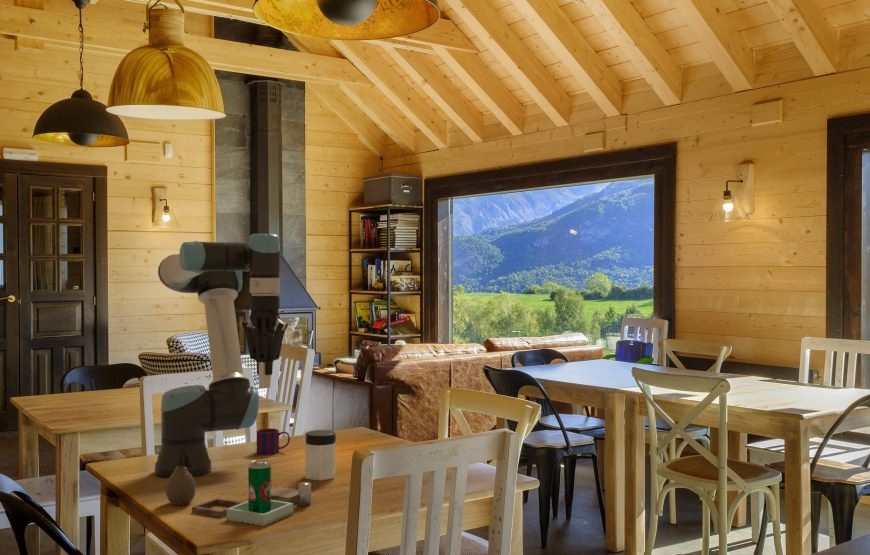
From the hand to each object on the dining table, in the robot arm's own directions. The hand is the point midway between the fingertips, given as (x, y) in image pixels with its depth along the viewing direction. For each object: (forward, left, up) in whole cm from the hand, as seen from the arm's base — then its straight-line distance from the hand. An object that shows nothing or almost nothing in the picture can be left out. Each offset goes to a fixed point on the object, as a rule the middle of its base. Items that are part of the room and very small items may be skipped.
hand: (264, 387), depth 215 cm
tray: (+13, -18, -26) cm, 35 cm away
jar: (+4, +19, -27) cm, 33 cm away
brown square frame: (+1, -18, -26) cm, 32 cm away
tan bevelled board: (+9, -4, -27) cm, 29 cm away
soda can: (+13, -18, -26) cm, 34 cm away
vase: (-11, -18, -27) cm, 34 cm away
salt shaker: (+16, -5, -26) cm, 31 cm away
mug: (-26, +37, -27) cm, 53 cm away
